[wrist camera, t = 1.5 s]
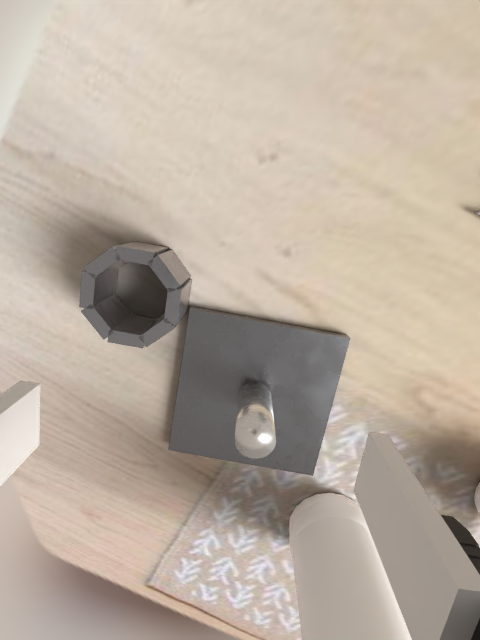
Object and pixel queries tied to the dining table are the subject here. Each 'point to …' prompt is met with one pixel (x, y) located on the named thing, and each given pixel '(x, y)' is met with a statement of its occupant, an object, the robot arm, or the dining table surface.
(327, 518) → the bottle
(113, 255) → the ring
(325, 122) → the dining table surface
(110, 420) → the dining table surface
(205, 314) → the piston jig
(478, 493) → the cup
